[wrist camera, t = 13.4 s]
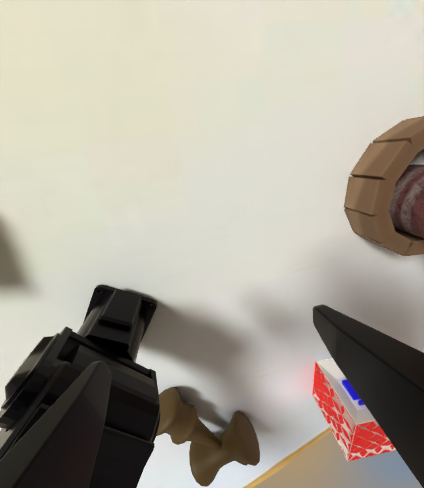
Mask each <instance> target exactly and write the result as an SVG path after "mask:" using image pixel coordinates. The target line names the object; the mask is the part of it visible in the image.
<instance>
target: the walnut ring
mask: <svg viewBox="0 0 424 488" xmlns="http://www.w3.org/2000/svg"><path fill="white" fill-rule="evenodd" d="M423 149H424V116H423V117H417V118H412V119H406V120H404V121H402V122H400V123H399V124H397V125H396V126H394V127H393V128H391V129H390V130H388V131H387V132H385V133H384V134H382V135H381V136H379V137H378V138H376V139H375V140H373V144H370V145H369V146H368V148H367V149H366V151H365V152H364V154H363V155H362V157H361V158H360V160H359V161H358V163H357V164H356V166H355V167H354V169H353V171H352V172H351V174H352V175H353V176H354V177H349V180H348V186H347V192H346V198H345V204H344V207H347V208H346V209H344V210H345V212H346V215H347V217H348V220H349V222H350V225H351V227H352V230H353V231H354V232H355V233H356V234H358V235H360V236H362V237H364V238H366V239H368V240H370V241H372V242H374V243H376V244H378V245H380V246H383V247H385V248H387V249H389V250H392V251H394V252H396V253H398V254H400V255H404V256H410V255H418V254H424V238H422V237H419V236H416V235H413V234H410V233H407V232H404V231H401V230H398V229H395V228H394V226H393V222H392V219H391V216H390V213H389V208H390V204H391V200H392V197H393V193H394V189H395V185H396V182H397V180H398V179H399V178H400V176H401V175H402V173H403V172H404V171H405V169H406V168H407V167H408V165H409V164H410V163H411V161H412V160H413V158H414V157H415V156H416V154H417V153H418V152H420V151H421V150H423Z"/></svg>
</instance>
